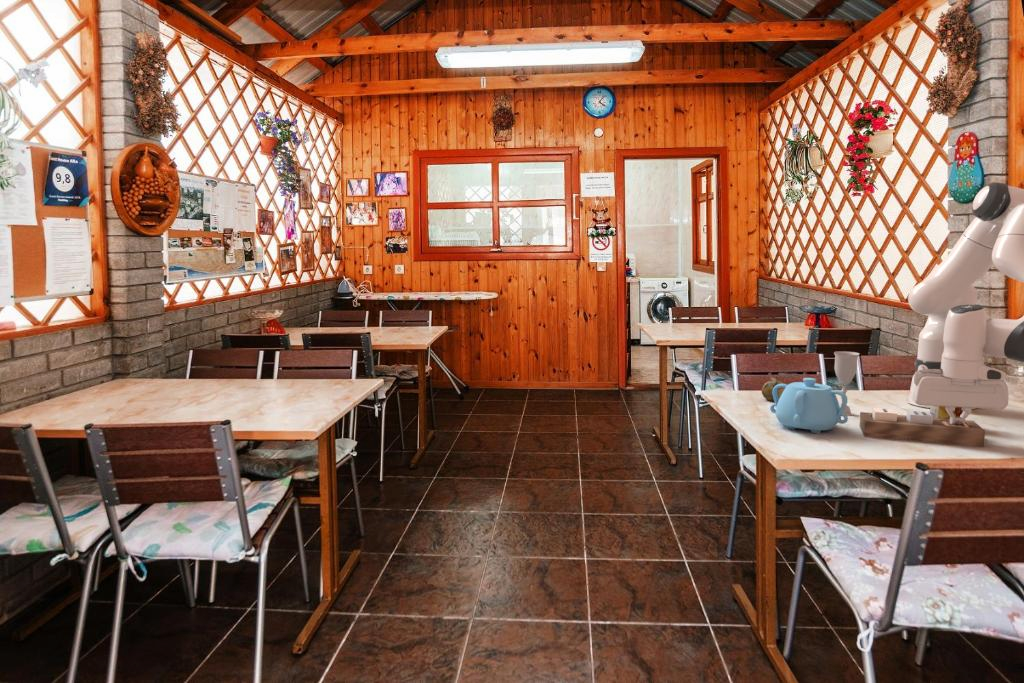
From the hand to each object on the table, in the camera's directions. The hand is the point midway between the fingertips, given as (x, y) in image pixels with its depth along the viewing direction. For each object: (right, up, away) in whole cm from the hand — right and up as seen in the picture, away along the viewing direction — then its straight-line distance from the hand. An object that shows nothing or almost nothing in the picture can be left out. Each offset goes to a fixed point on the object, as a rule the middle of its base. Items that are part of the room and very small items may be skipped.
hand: (957, 424), depth 169 cm
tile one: (-15, 0, +6) cm, 16 cm away
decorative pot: (-33, -3, +12) cm, 35 cm away
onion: (-28, +2, +46) cm, 54 cm away
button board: (-8, -4, +4) cm, 9 cm away
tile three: (0, -3, +1) cm, 3 cm away
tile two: (-8, 0, +3) cm, 8 cm away
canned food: (+7, -2, +15) cm, 16 cm away
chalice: (-15, -1, +28) cm, 32 cm away
